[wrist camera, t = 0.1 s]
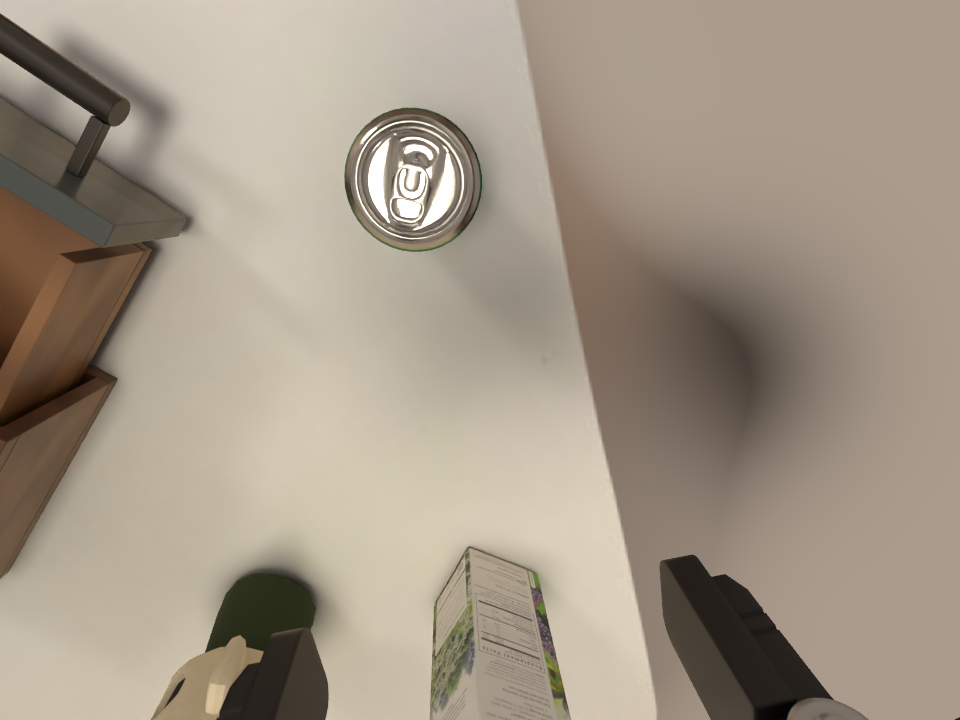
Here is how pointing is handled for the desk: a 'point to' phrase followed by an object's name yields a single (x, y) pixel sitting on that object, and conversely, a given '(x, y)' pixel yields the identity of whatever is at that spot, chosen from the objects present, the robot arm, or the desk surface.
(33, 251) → the drawer
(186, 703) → the character mug
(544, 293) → the desk surface
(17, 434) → the cabinet
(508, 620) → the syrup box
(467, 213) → the soda can
